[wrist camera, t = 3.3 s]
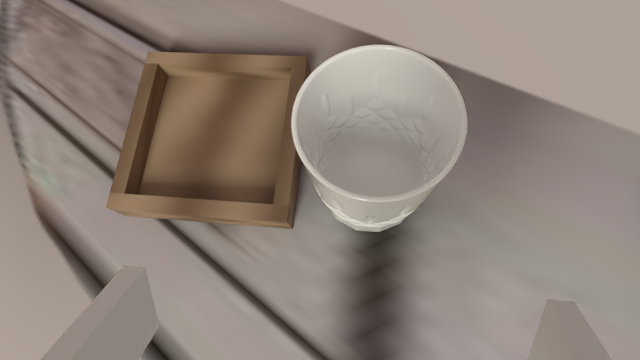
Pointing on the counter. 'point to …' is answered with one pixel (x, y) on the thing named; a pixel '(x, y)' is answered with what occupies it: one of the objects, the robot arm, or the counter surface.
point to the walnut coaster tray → (212, 140)
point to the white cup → (378, 132)
